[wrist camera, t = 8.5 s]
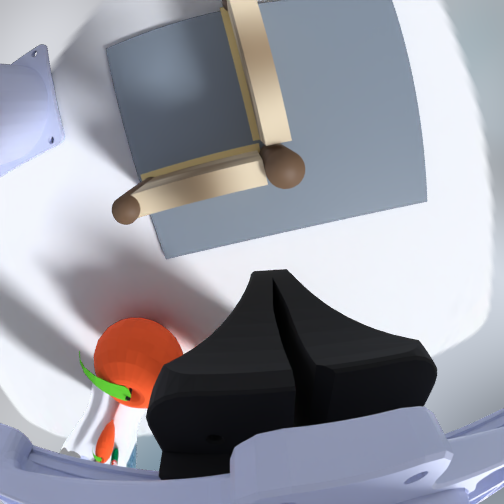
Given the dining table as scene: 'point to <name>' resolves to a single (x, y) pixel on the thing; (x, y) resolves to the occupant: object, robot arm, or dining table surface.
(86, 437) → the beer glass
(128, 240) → the dining table surface
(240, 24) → the panel
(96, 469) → the robot arm
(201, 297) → the dining table surface
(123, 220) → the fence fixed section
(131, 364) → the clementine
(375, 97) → the card
